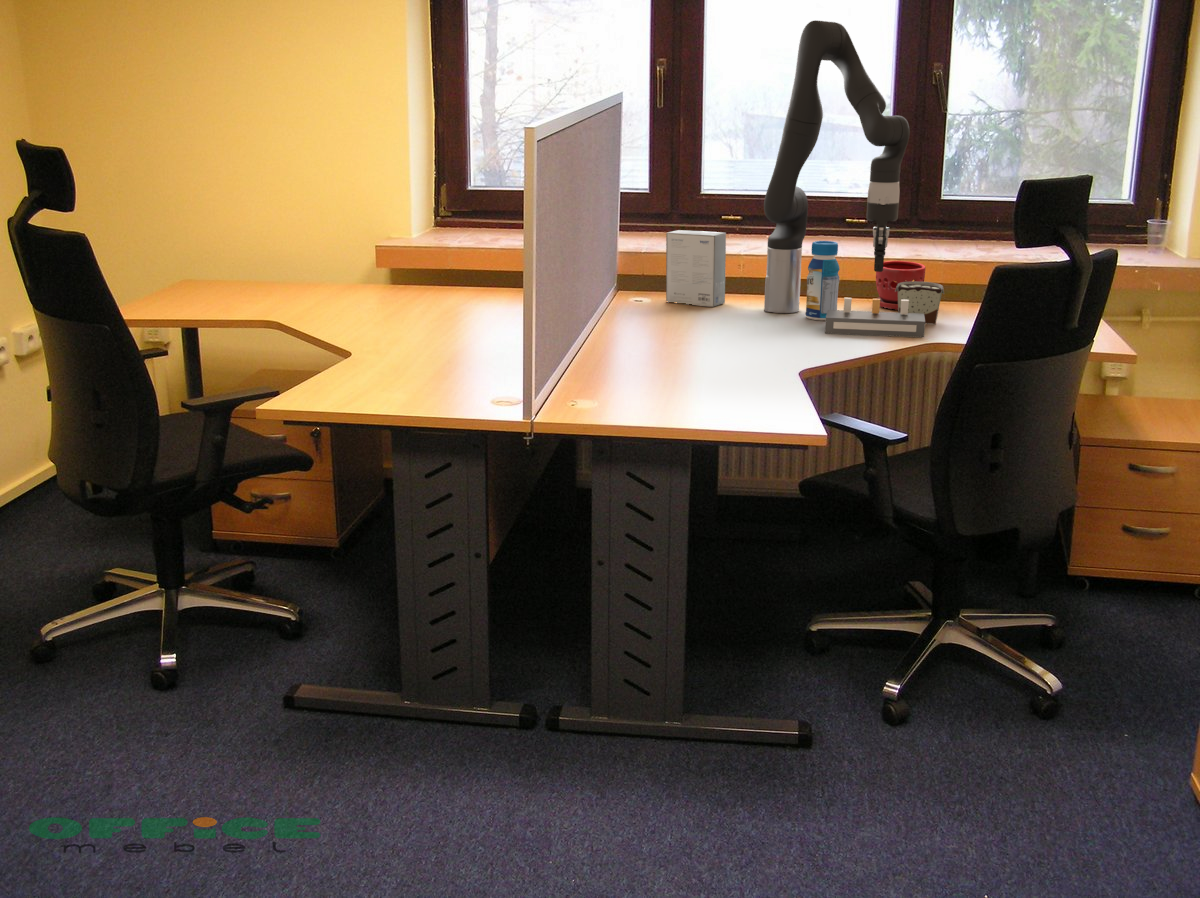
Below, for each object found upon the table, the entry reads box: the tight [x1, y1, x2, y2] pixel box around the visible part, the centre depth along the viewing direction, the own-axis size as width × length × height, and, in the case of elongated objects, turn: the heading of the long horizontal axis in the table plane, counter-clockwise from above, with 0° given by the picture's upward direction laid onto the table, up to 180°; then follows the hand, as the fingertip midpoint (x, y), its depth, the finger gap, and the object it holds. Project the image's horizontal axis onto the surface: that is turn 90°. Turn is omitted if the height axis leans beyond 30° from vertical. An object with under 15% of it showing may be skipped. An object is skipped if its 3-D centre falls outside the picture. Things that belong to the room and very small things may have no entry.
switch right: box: [900, 300, 909, 315], centre depth 293 cm, size 2×1×4 cm
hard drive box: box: [665, 229, 727, 308], centre depth 328 cm, size 16×8×20 cm, turn 58°
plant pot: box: [875, 260, 926, 311], centre depth 322 cm, size 13×13×12 cm
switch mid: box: [871, 298, 881, 314], centre depth 294 cm, size 2×1×4 cm
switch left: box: [843, 297, 853, 312], centre depth 296 cm, size 2×1×4 cm
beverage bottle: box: [805, 240, 840, 322], centre depth 307 cm, size 8×8×20 cm
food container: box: [895, 280, 945, 326], centre depth 304 cm, size 12×6×10 cm, turn 71°
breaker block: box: [824, 309, 926, 338], centre depth 294 cm, size 24×10×4 cm, turn 77°
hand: (878, 271), depth 291 cm, fingers closed
